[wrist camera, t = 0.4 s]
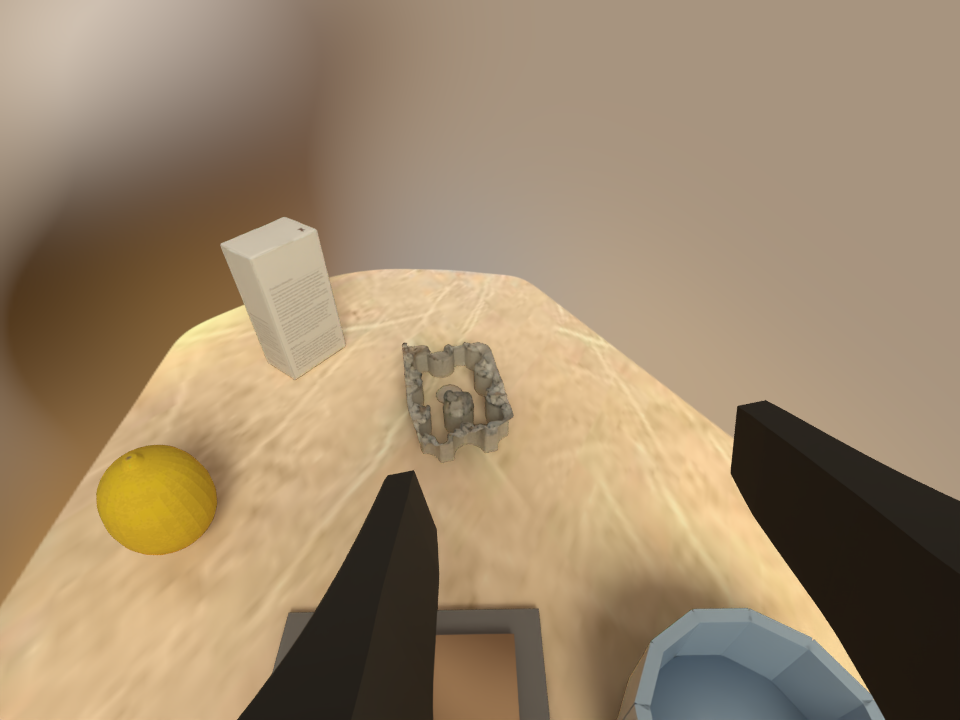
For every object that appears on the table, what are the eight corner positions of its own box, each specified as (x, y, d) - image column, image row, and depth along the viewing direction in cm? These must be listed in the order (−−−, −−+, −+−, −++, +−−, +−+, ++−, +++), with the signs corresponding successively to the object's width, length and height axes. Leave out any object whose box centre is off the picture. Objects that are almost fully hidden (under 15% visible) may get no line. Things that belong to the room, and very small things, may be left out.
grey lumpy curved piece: (403, 375, 43) (398, 338, 40) (486, 363, 44) (486, 327, 42) (416, 471, 35) (411, 433, 32) (516, 453, 36) (519, 416, 34)
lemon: (231, 487, 34) (185, 407, 29) (236, 556, 30) (185, 479, 25) (141, 517, 32) (76, 438, 27) (135, 594, 28) (57, 519, 23)
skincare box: (318, 330, 48) (285, 214, 40) (347, 347, 46) (319, 228, 38) (264, 363, 44) (217, 242, 36) (293, 382, 42) (250, 259, 34)
